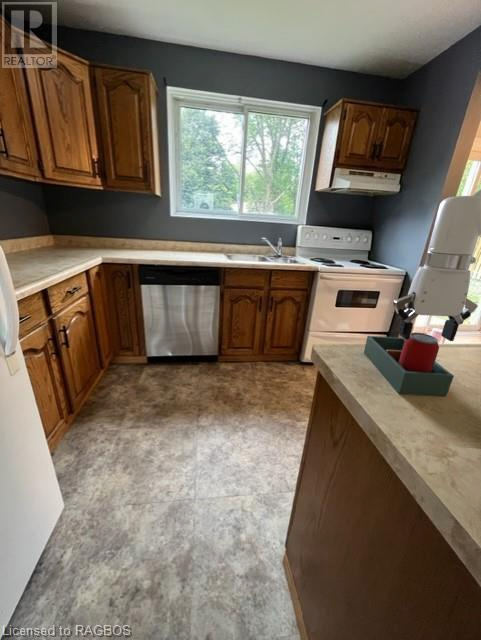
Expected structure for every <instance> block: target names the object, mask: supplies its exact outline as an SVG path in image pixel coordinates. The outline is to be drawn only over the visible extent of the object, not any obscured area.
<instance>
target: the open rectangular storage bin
mask: <svg viewBox="0 0 481 640" xmlns="http://www.w3.org/2000/svg"><path fill="white" fill-rule="evenodd" d="M404 342H405V339H404V338H403V337H395V336H394V337H393V336H378V335H377V336H376V335H367V337H366V341H365V346H364V349H363V354H364V355H365V356H366V358H368V360H369V361H370V362H371V363H372V364H373V366H374V367H375V368H376V369H377V370H378V372H379V373H380V374H381V376H383V377H384V378H385V380H386V381H387V382H388V383H389V385H390V386H391V387H392V388H393V389H394V390H395V392H397V394H398V395H408V396H424V397H425V396H426V397H439V398H447V396H448V393H449V390H450V388H451V385H452V382H453V379H454V377H455V376H454V374H453V373H451V372H450V371H448V370H447V369H446V368H444V367H443V366H441V365H440V363H438V362H437V361H435V363H434V366H433V369H432V372H431V373H427V372H410V371H406V370H405V369H404V368H403V367H402V366H401V365H400V364H399V359H400V356H401V352H402V349H403V345H404Z"/></svg>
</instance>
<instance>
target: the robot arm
mask: <svg viewBox="0 0 481 640" xmlns="http://www.w3.org/2000/svg"><path fill="white" fill-rule="evenodd" d="M479 237H481V188H479V189H478V190H477V191H476V192H475V193H473V194H472V195H457V196H456V195H455V196H450V197H447V198H444V199H443V200H442V201H441V202H440V203H439V206H438V210H437V213H436V217H435V221H434V225H433V229H432V233H431V237H430V241H429V244H428V249H427V253H426V255H425V259H424V264H423V266H419V267H418V269H417V271H416V272H415V274H414V276H413V279H412V281H411V284H410V287H409V290H408V293H407V294H406V295H404V296H402V297H400V298H397V299H395V300H393V302H392V304H393V307H394V309H395V310H394V311H395V313H396V314H397V316H398V317H399V319H400V323H399V327H398V335H399V336H400V337H401V338H404V339H409V338H410V334H411V333H412V330H413V326H414V323H413V322H412V321H413V320H414V319H416V318H417V317H418V316H430V317H432V316H433V317H447V318H448V319H445V320H446V321H444V325H443V327H442V331H441V334H440V336H441V337H442V338H444V339H445V340H448V341H449V342H454V341H455V338H456V336H457V332H458V329H459V326H461V325H463V324H464V321H465V320H468V318H470V317H471V316H472V314H473V312H475V310H476V309H477V308H478V307H479V306H478V304H477V303H476V302H474V301H472V300H470V299H469V298H468V294H469V290H470V289H469V288H470V281H471V270H470V266H471V264H475V263H476V262H477V258H476V257H475V256H474V252H475V250H476V246H477V243H478V239H479ZM404 307H405V310H404Z"/></svg>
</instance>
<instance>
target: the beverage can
mask: <svg viewBox="0 0 481 640" xmlns="http://www.w3.org/2000/svg"><path fill="white" fill-rule="evenodd" d="M438 340H439V339H438V338H437V337H435V336H432V335H430V334H427V333H423V332H411V334H410V338H409V339H405V342H404V345H403V349H402V352H401V356H400V359H399V364H400V365H401V366H402V367H403V368H404V369H405V370H406V371H410V372H427V373H431V372H432V369H433V366H434V363H435V362H436V360H437V357H438V354H439V350H440V345H439V343H438Z"/></svg>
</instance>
